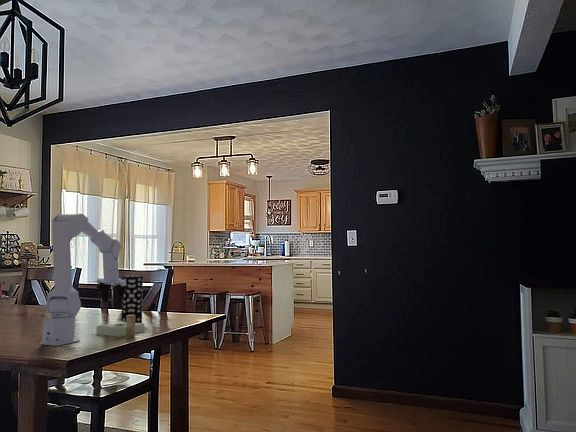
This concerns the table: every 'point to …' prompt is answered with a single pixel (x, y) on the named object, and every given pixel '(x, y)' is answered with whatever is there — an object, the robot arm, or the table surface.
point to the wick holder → (117, 329)
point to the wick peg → (130, 326)
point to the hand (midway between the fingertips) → (112, 302)
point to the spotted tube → (133, 298)
